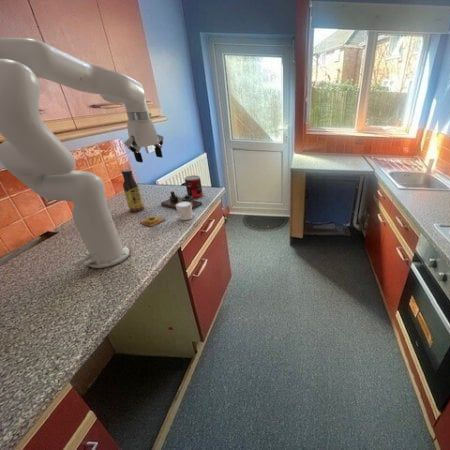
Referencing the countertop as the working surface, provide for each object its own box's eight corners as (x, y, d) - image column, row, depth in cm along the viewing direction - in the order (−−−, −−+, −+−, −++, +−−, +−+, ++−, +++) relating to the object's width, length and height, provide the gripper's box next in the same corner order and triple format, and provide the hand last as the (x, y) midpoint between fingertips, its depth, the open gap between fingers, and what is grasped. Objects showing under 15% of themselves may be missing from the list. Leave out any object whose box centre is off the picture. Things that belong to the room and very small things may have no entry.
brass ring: (151, 224, 111) (150, 222, 110) (143, 222, 112) (142, 220, 112) (160, 220, 115) (160, 217, 114) (153, 217, 116) (152, 215, 116)
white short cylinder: (183, 222, 114) (180, 208, 111) (175, 217, 118) (172, 204, 115) (196, 217, 119) (194, 203, 116) (188, 213, 123) (186, 200, 120)
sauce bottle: (137, 212, 121) (125, 173, 112) (126, 211, 122) (113, 171, 113) (147, 207, 127) (136, 169, 118) (137, 206, 128) (125, 168, 119)
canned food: (187, 194, 144) (184, 176, 139) (202, 192, 147) (199, 174, 142) (188, 199, 138) (184, 180, 133) (203, 197, 141) (200, 178, 136)
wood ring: (187, 202, 125) (187, 200, 124) (180, 200, 126) (179, 198, 126) (195, 198, 129) (194, 196, 128) (187, 197, 130) (187, 195, 130)
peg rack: (187, 211, 124) (185, 199, 121) (161, 205, 130) (158, 193, 127) (202, 204, 132) (200, 193, 129) (176, 198, 138) (174, 187, 135)
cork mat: (151, 226, 110) (151, 225, 110) (140, 223, 112) (140, 222, 112) (164, 220, 115) (164, 219, 115) (153, 217, 118) (153, 216, 118)
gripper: (151, 114, 108) (160, 154, 116) (111, 117, 94) (124, 162, 102) (164, 115, 105) (172, 156, 114) (124, 119, 91) (137, 165, 99)
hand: (150, 159), depth 108 cm, fingers open, 9 cm apart
